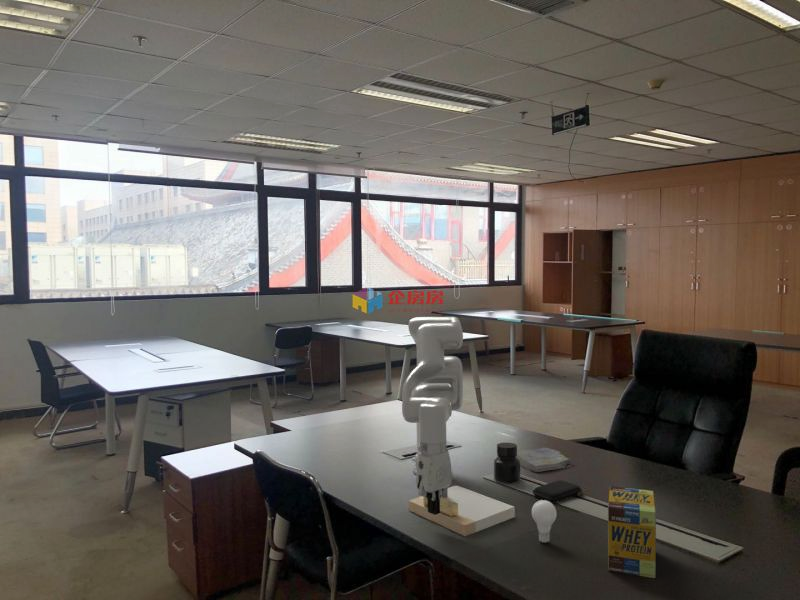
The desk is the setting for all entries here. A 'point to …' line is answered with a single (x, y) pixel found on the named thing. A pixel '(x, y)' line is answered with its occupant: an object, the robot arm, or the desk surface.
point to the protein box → (631, 531)
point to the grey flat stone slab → (542, 459)
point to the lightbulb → (544, 518)
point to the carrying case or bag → (557, 491)
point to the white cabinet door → (466, 511)
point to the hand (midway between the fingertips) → (433, 512)
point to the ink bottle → (507, 463)
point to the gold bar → (445, 506)
